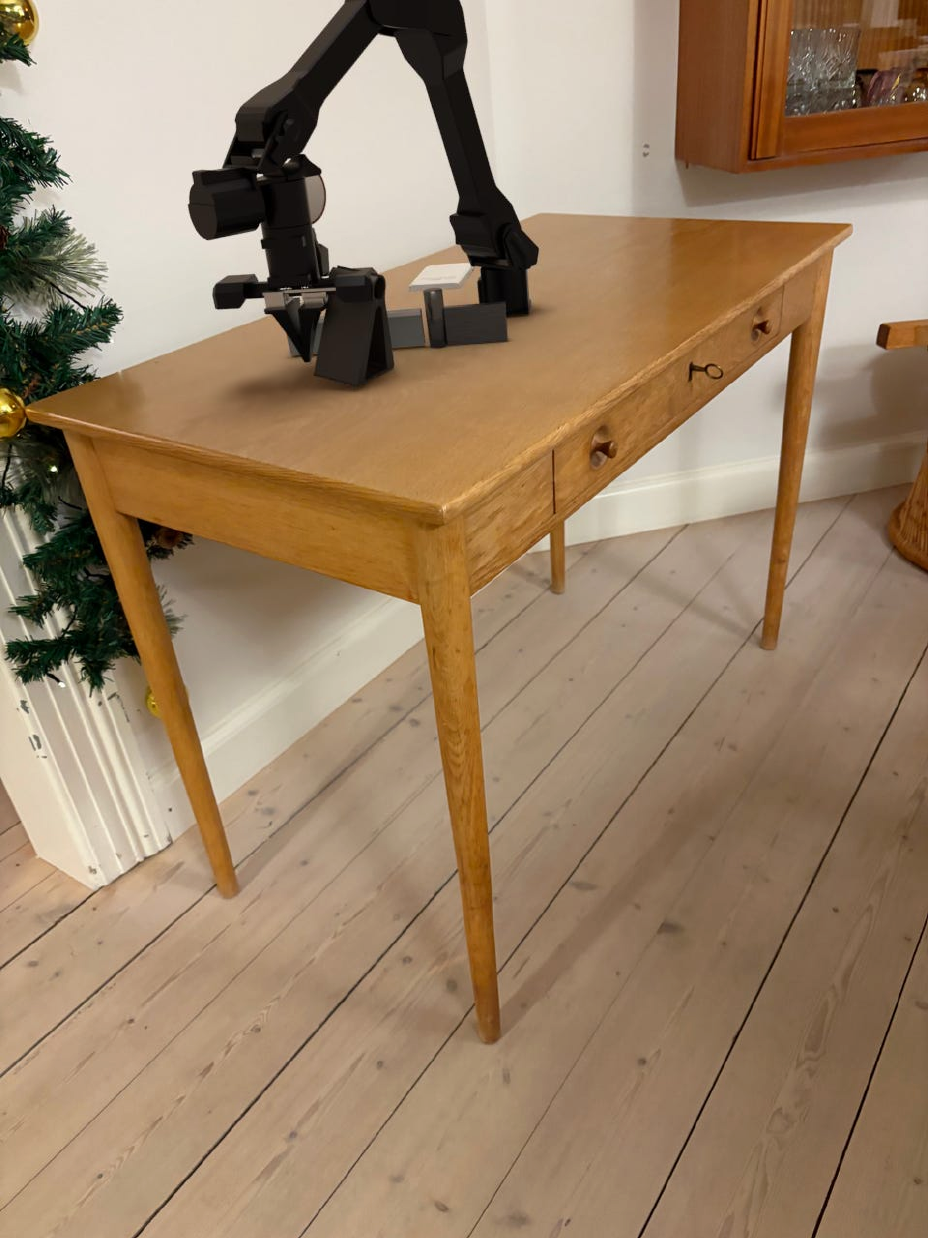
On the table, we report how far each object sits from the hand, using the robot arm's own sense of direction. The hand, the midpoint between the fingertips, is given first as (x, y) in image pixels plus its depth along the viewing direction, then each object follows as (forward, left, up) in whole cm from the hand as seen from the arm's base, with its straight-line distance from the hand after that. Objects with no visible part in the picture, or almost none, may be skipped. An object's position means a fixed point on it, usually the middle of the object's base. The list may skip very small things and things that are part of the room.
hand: (308, 361), depth 119 cm
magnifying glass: (+8, -40, -3) cm, 40 cm away
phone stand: (-5, 0, -2) cm, 6 cm away
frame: (-9, -12, -3) cm, 15 cm away
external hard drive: (-10, -48, -3) cm, 49 cm away
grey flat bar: (-4, -12, -2) cm, 12 cm away
